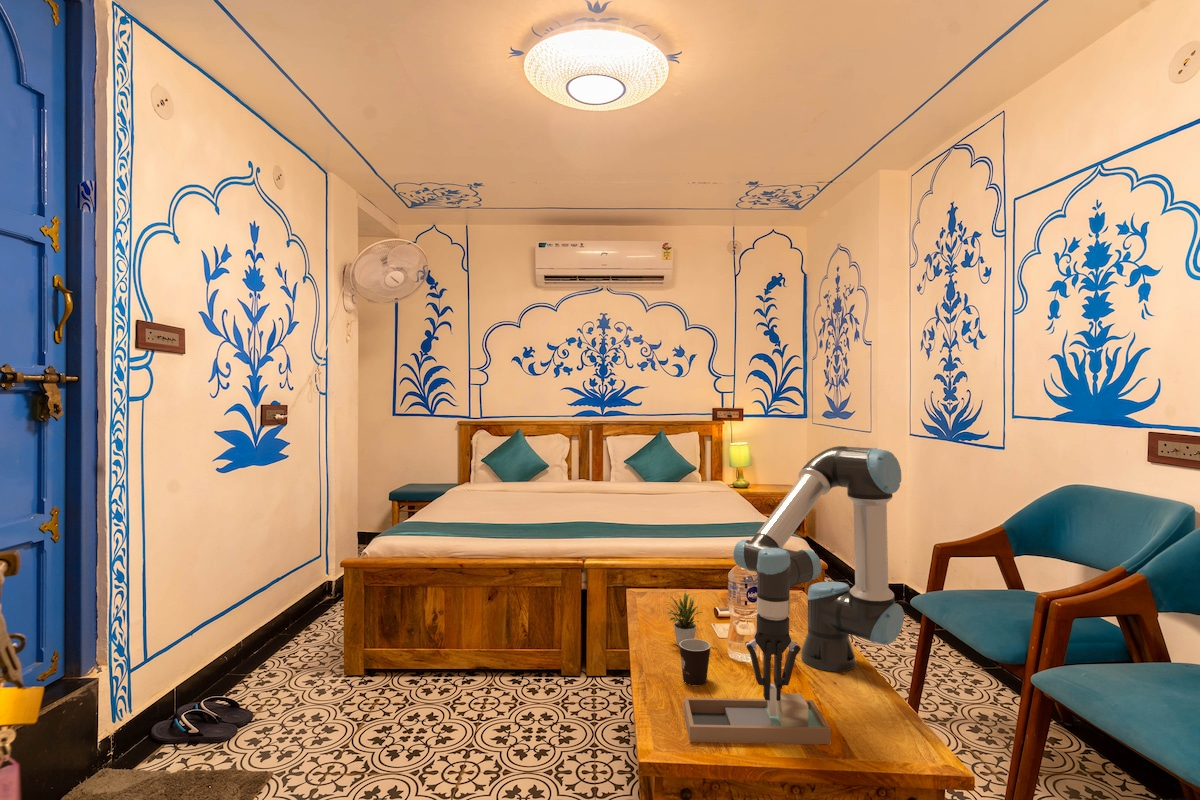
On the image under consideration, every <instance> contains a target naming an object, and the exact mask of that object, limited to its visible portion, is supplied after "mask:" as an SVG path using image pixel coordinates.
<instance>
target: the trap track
mask: <svg viewBox="0 0 1200 800" xmlns="http://www.w3.org/2000/svg"><path fill="white" fill-rule="evenodd" d="M805 701H806V703H807V704H808V727H794V726H782V725H781V723H780V720H779V718H778V716H777V714H776V716H770V715H769V712H768V700H765V698H728V697H727V698H725V697H724V698H722V697H718V698H717V697H715V698H714V697H683V714H684V719H685V724H686V729H687V733H688V740H689V743H727V744H728V743H732V744H735V743H736V744H737V743H738V744H770V745H771V744H776V745H777V744H779V745H780V744H781V745H783V744H784V745H819V744H831V745H832V728H831V727H830V726H829V724H828V722H827V720H826V719H825V718H824V716H823V714H822V713H821V711H820V710H819V708H818V706H817V704H816V703H815V701H814V699H805Z"/></svg>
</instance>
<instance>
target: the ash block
mask: <svg viewBox="0 0 1200 800" xmlns="http://www.w3.org/2000/svg"><path fill="white" fill-rule="evenodd" d="M805 700H806V699H805V697H804V696H803V695H802V693H797V692H795V693H783V692H781V699H780V701H776V714H777V716H778V718H779V720H780V723H781V725H782V726H794V727H808V704H807V703H806V701H805Z"/></svg>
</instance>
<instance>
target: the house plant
mask: <svg viewBox="0 0 1200 800" xmlns="http://www.w3.org/2000/svg"><path fill="white" fill-rule="evenodd" d="M665 595H666V596H668V598H669V597H670V599H672V601H673V602H674V605H673V604H671V603H670V602H668V601H665V603H668V604H666V605H667V606H671V607H672V608H673V609H674V610H675V611H676V612H674V611H673V610H672V609H671V608H668V607H667V609H668V610H669V612H667V613H666V615H667V616H669V617H670V619H669V620H668V622H669V621H673V622H672V623H673V629H674V633H675V635H674V636H675V642H676V646H677V645H678V647H679V648H680V646H679V643H680V642H681V641H683V640H686V639H696V638H695V637H696V630H697V624H696V623H695V622H698V623H700V622H699V620H695V616H696V615H698V614H701V613H702V614H703V613H704V612H703V611H699V612H696V613H695V611H696V610H697V608H698V607H700V606H701V604H702V602H700V603H699V604H697V606H695V607H694V605H695V597H693V596H692V594H691V595H690V593H687V591H684V593H683V601H682V599H681V598H679V605H678V602H677V600H675V599H674V597H673V596H670V595H668V594H664V596H665ZM689 596H690V599H689ZM688 600H689V603H688ZM694 613H695V614H694ZM669 614H670V615H669ZM671 615H673V617H671Z"/></svg>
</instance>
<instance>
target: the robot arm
mask: <svg viewBox="0 0 1200 800" xmlns="http://www.w3.org/2000/svg"><path fill="white" fill-rule="evenodd" d="M901 469H902V468H901V465H900V462H899V460H898V458H897V457H896V456H895V455H894V453H893V452H891V451H890V450H887V449H886V450H885V449H879V448H874V447H857V446H842V445H838V446H837V445H836V446H832V447H829V448H827V449H825V450H823V451H821V452H819V453H818V454H817V455H815V456H814V457H812V458H811V459H809V461H807V463H806V464H805V465H804V466H803V467H802V469H800V471H799V472H798V480H797V481H796V482H795V483H794V485H793V486H792V487H791V488H790V489H789V491H788V492H787V494H786V495H785V496H783V497H784V498H782V500H781V501H780V502H779V504H778V505H777V507H776V508H775V509H774V510H773V511H772V512H771V514H770V515H769V517H768V518H767V520H765V522H764V523H763V524H762V526H761V527H760V528H759V530H758V531H757V532H756V533H755V535H753V538H751V540H750V539H742V540H739V541H737V543H736V544H735V546H734V548H733V555H732V557H733V559H734V563H735V565H737V566H738V567H739V568H742V569H744V570H747V571H750V572H755V573H757V574H756V580H757V581H756V583H757V591H756V613H757V615H756V633H755V635H754V636H753V637H754V638H753V639H752V640H749V641H745V642H744V644H745V647H746V650H747V651H748V653H749V655H750V660H751V664H752V668H753V673H754V676H755V679H756V683H757V684H758V685H759V686H762V687H763V699H765V700H768V712H769V715H770V716H776V701H780V699H781V693H782V688H783V687H784V686H789V684H790V681H791V677H792V675H793V669H794V667H795V666H794V665H795V662H796V658H797V656H798V654H799V653H800V651H801V655H800V656H801V660H802V661H803V662H804V664H806V665H808V666H809V667H812V668H815V669H818V670H821V671H826V672H827V671H829V672H845V671H846V672H847V671H850V670H852V669H854V668H855V666H856V656H855V652H854V648H853V646H852V643H851V639H850V635H851V636H855V637H857V638H859V639H864V640H867V641H870V642H871V643H874V644H875V643H876V644H880V645H884V646H888V645H890V644H892V643H894V642H895V640H896V639H897V638H898V637H899V635H900V633H901V631H902V628H903V625H904V621H905V620H904V618H905V613H904V612H905V610H904V609H903V607H902V605H900V604H899V603H896V602H895V600H896V599H895V593H894V592H893V591H892V590H891V589H890V588H889V563H888V562H889V560H888V559H889V554H888V512H887V511H888V503H889V502H890V501H891V500H892V499H893V494H894V493H896V492H897V491H898V490H899V489H900V487H901V482H902V470H901ZM836 487H841V488H846V489H847V490H846V491H847V495H846V496H847V498H849V499H850V500H851V501H852V502H853V543H854V546H853V547H854V550H853V552H854V553H853V554H854V585H853V586H852V587H851V588H850V585H849V584H847V583H846V582H842V581H841V582H840V581H820V582H816V583H812V584H810V585H809V587H808V590H807V591H808V592H807V597H806V598H807V599H806V600H807V634H806V636H805V640H804V642H803V645H802V647H800V645H799V644H798V642H794V641H793V640H792V638H791V635H790V617H789V615H790V593H791V592H790V591H791V589H790V588H791V587H793V586H796V585H800V584H805V583H810V582H811V581H812V580H815V579H818V577H819V576H820V575H821V573H822V561H821V559H820V557H819V556H818V554H817V553H815V552H814V551H813V550H810V549H799V550H798V551H796V550H791V549H787V548H784V546H785V545H786V543H787V542H788V541H789V540H790V538H791V537H792V535H794V533H795V531H796V530H797V529H798V527H799V526H800V524H801V523H802V522H803V521H804V519H805V518H806V516H807V515H808V514H809V513H810V511H811V510H812V508H814V506H815V505H816V504H817V502H818V501H819V499H820V498H821V497H822V496H824V495H827V494H828V493H829V492H830V491H831V489H833V488H836ZM757 646H758V647H759V648H760V650H761V652H762V654H763V658H762V659H763V661H762V662H763V663H762V664H763V666H762V667H763V669H762V670H763V671H762V673H763V674H762V673H761V669H760V664H759V660H758V656H757V652H756V651H757V650H758V649H757ZM787 648H788V651H787V655H786V658H785V664H784V668H783V670H782V667H783V666H782V660H783V654H784V652H785V651H786V649H787ZM772 656H773V683H771V682H772V681H771V675H772V673H771V672H772V670H771V669H772V667H771V666H772V665H771V663H772Z"/></svg>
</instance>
